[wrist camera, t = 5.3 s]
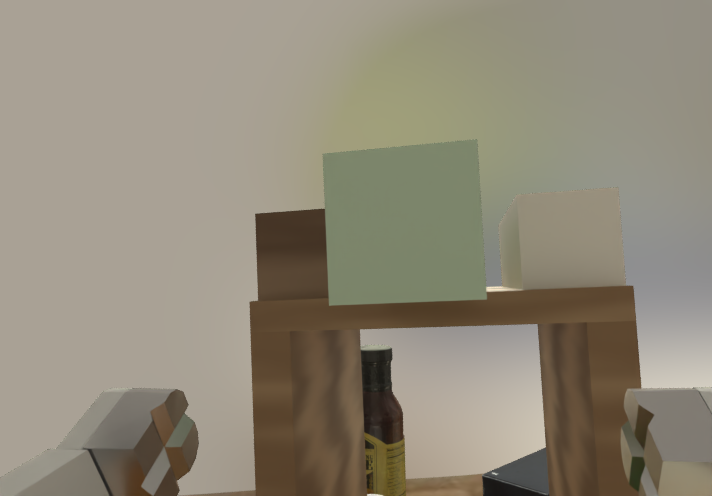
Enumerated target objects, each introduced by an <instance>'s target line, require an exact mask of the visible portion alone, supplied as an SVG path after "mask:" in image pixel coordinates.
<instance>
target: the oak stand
mask: <svg viewBox="0 0 712 496" xmlns="http://www.w3.org/2000/svg"><path fill="white" fill-rule="evenodd" d="M486 291H487V299H486V300H460V301H434V302H409V303H383V304H357V305H331V306H329V298H314V299H290V300H266V301H252V302H250V326H251V356H252V390H253V421H254V450H255V451H254V452H255V484H256V496H367V480H366V458H365V436H364V414H363V392H362V369H361V347H360V329H382V328H415V327H446V326H447V327H450V326H483V325H514V324H515V325H516V324H538V335H539V350H540V365H541V380H542V395H543V410H544V424H545V438H546V454H547V469H548V484H549V496H639V492H638V491H636V490H635V489H634V488H633V487H632V486H630V485H629V483H628V480H627V477H626V474H625V470H624V466H623V461H622V455H621V443H620V442H621V427H622V426H623V425H624V424H625V423H626V422H627V421H628V417H627V415H626V412H625V409H624V399H625V394H626V391H627V389H641V377H640V365H639V352H638V339H637V326H636V314H635V301H634V289H633V286H603V287H579V288H555V289H531V290H521V289H514V288H508V287H502V286H501V287H486Z"/></svg>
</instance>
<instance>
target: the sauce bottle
mask: <svg viewBox="0 0 712 496" xmlns="http://www.w3.org/2000/svg"><path fill="white" fill-rule="evenodd" d="M360 347H361V369H362V392H363V414H364V436H365V458H366V480H367V494H378V495H383V496H406V479H405V442H404V435H403V412H402V409H401V406H400V404H399V402H398V401H397V399H396V397H395V396H394V395H393V392H392V382H391V360H392V348H391V347H390V346H385V345H365V346H360Z"/></svg>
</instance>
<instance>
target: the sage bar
mask: <svg viewBox="0 0 712 496" xmlns="http://www.w3.org/2000/svg"><path fill="white" fill-rule="evenodd" d="M323 171H324V196H325V220H326V244H327V268H328V292H329V306H331V305H357V304H383V303H409V302H434V301H460V300H486V299H487V291H486V277H485V276H486V274H485V258H484V243H483V225H482V209H481V194H480V176H479V161H478V144H477V139H476V140H465V141H455V142H444V143H434V144H422V145H412V146H401V147H391V148H380V149H369V150H359V151H347V152H338V153H327V154H323Z"/></svg>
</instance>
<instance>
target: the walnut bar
mask: <svg viewBox="0 0 712 496" xmlns="http://www.w3.org/2000/svg"><path fill="white" fill-rule="evenodd" d="M255 217H256V247H257V276H258V301H266V300H290V299H314V298H329V292H328V268H327V244H326V220H325V209H314V210H301V211H287V212H273V213H260V214H255Z"/></svg>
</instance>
